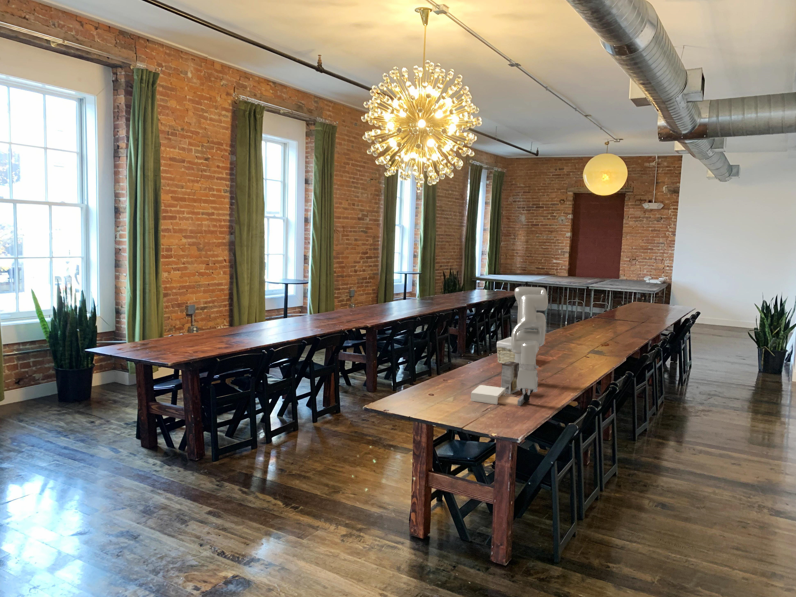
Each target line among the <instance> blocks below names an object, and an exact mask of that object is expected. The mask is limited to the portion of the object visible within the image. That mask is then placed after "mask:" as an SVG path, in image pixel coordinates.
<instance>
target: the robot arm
mask: <svg viewBox="0 0 796 597" xmlns="http://www.w3.org/2000/svg"><path fill="white" fill-rule="evenodd" d="M514 297H515V300H516V303H517V324H516V325H515V326H514V328H513V329H512V331H511V335H510V337H511V350H512V352H513V353H515V362H516V363H519V372H518V378H517V388H516V389H518V391H520V392H521V393H522V395H523V400H524V403H529V401H530V400H531V394H532V393H536V392H538V386H539V383H538V382H539V381H538V379H539V378H538V375H539V374H538V369H539V365H537V360H536V359H537V354H538V352H539V349H540V347H542V346H544V344H545V341H546V326H547V323H546V322H547V321H546V319H547V318H546V316H545V314H544V313H542V312H537V311H546V310H547V309H548V303H549V300H548V292H547V290H546V288H545V287H541V286H540V287H536V286H518V287H516V288H515V289H514Z"/></svg>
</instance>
